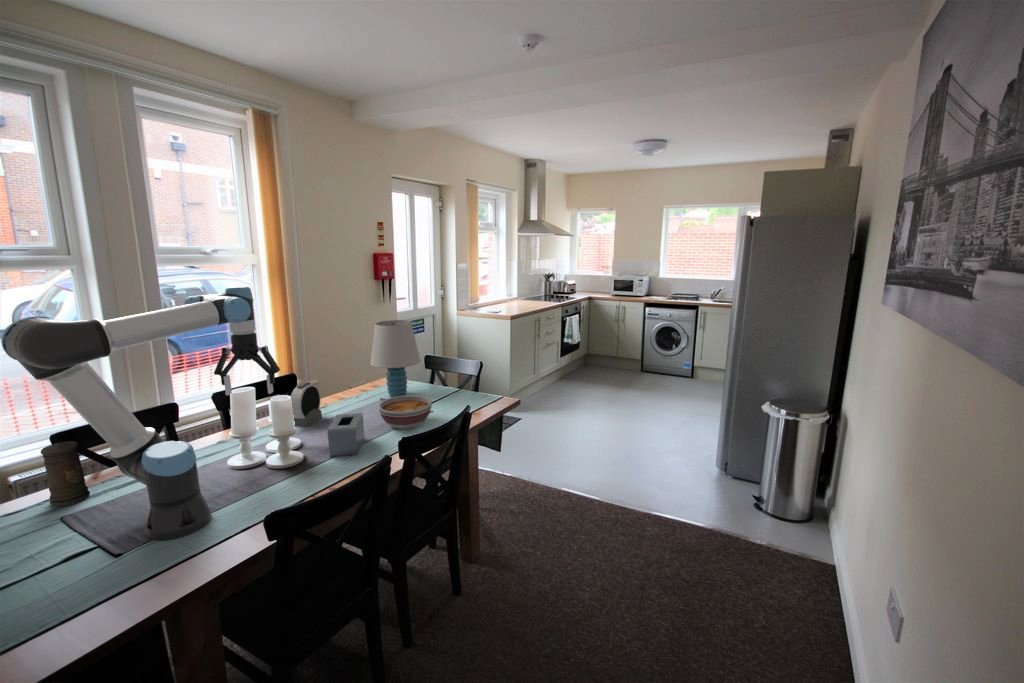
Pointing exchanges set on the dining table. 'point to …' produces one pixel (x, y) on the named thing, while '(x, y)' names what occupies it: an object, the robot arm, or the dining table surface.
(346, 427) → the box
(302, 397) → the alarm clock
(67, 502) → the container
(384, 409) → the bowl
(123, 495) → the dining table surface
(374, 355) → the lamp
